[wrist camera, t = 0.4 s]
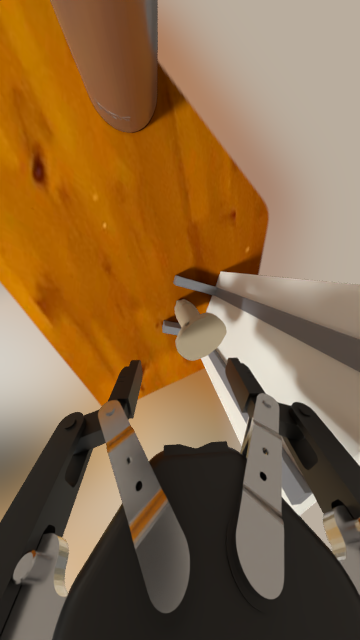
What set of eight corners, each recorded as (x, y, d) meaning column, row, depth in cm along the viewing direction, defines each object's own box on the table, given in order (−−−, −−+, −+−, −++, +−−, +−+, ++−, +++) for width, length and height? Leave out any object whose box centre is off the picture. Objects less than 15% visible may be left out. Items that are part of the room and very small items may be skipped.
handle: (199, 303, 31) (233, 333, 17) (178, 322, 32) (194, 366, 18) (185, 287, 29) (210, 307, 15) (163, 308, 30) (168, 344, 16)
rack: (179, 258, 27) (368, 196, 3) (226, 273, 29) (543, 309, 5) (159, 338, 32) (163, 545, 8) (200, 345, 35) (292, 521, 11)
